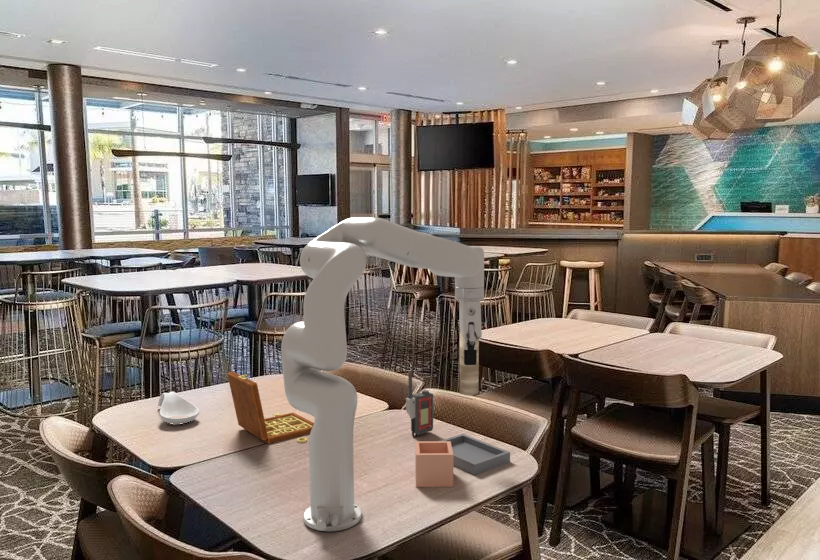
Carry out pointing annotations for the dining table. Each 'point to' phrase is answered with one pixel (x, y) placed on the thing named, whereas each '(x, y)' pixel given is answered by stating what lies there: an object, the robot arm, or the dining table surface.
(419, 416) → the walkie-talkie
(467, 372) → the birch dowel
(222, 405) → the dining table surface
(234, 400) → the game set
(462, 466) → the charcoal tray
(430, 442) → the terracotta box
